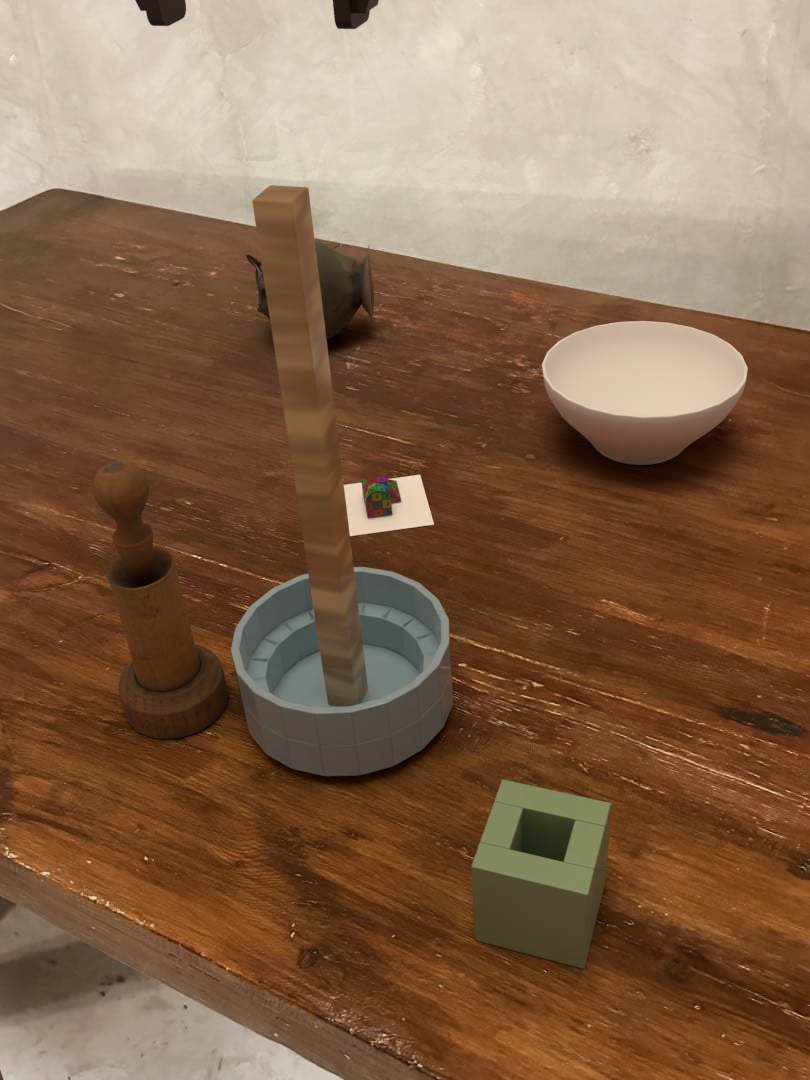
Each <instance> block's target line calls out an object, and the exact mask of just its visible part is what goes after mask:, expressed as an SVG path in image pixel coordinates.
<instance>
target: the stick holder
mask: <svg viewBox="0 0 810 1080" xmlns="http://www.w3.org/2000/svg"><path fill="white" fill-rule="evenodd" d="M611 812H612V803H611V802H608V801H604V800H600V799H599V800H598V799H594V798H590V797H587V796H586V797H585V796H581V795H577V794H571V793H566V792H563V791H559V790H553V789H549V788H544V787H540V786H536V785H535V786H534V785H530V784H526V783H522V782H521V783H520V782H517V781H512V780H507V779H501V782H500V784H499V787H498V790H497V793H496V795H495V798H494V802H493V804H492V806H491V809H490V812H489V816H488V818H487V821H486V823H485V826H484V829H483V833H482V836H481V838H480V841H479V843H478V846H477V848H476V852H475V854H474V858H473V859H472V863H471V866H470V867H471V869H470V870H471V888H472V891H471V892H472V907H473V928H474V929H473V930H474V941H476V942H480V943H484V944H488V945H491V946H496V947H499V948H503V949H506V950H511V951H514V952H519V953H521V954H526V955H530V956H534V957H537V958H541V959H543V960H544V959H545V960H548V961H553V962H556V963H559V964H564V965H567V966H570V967H571V966H572V967H575V968H579V969H582V970H584V969H585V968H586V964H587V960H588V955H589V951H590V947H591V942H592V939H593V935H594V931H595V926H596V922H597V918H598V914H599V910H600V906H601V900H602V898H603V893H604V890H605V884H606V881H607V874H608V857H609V844H610V843H609V842H610V828H611V827H610V826H611Z"/></svg>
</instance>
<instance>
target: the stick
mask: <svg viewBox="0 0 810 1080" xmlns="http://www.w3.org/2000/svg"><path fill="white" fill-rule="evenodd" d="M251 202H252V209H253V215H254V222H255V228H256V236H257V242H258V243H257V244H258V250H259V255H260V256H259V257H260V260H261V263H262V270H263V276H264V283H265V289H266V296H267V303H268V309H269V316H270V320H269V322H270V329H271V336H272V342H273V348H274V355H275V361H276V369H277V375H278V381H279V388H280V395H281V400H282V401H281V403H282V408H283V409H282V410H283V415H284V422H285V428H286V435H287V441H288V448H289V449H288V450H289V454H290V463H291V467H292V474H293V475H292V476H293V481H294V488H295V494H296V501H297V508H298V509H297V510H298V514H299V522H300V528H301V534H302V541H303V547H304V554H305V561H306V567H307V568H306V569H307V574H308V575H309V582H310V588H311V595H312V602H313V608H314V615H315V622H316V628H317V635H318V641H319V648H320V655H321V661H322V668H323V675H324V681H325V688H326V695H327V701H328V704H330V705H335V706H340V707H343V706H353V705H357V704H360V703H361V701H362V699H363V697H364V696H365V694H366V692H367V690H368V684H367V675H366V667H365V658H364V650H363V642H362V633H361V625H360V616H359V608H358V600H357V591H356V583H355V575H354V567H355V566H354V559H353V551H352V550H353V549H352V543H351V536H350V533H349V524H348V516H347V507H346V499H345V491H344V485H345V483H344V475H343V467H342V458H341V457H342V456H341V449H340V442H339V434H338V426H337V416H336V408H335V400H334V399H335V398H334V390H333V383H332V374H331V366H330V357H329V348H328V339H327V340H326V331H325V323H324V315H323V306H322V298H321V289H320V281H319V273H318V264H317V256H316V248H315V239H316V238H315V233H314V224H313V215H312V207H311V198H310V190H309V187H307V186H293V185H292V186H291V185H275V184H271V185H270V184H269V185H268V186H267V187H266V188H265V189H264V190H262V191H261V192H260V193H259V194H258V195H256V196H255V197H254V198H253V199H252V200H251Z"/></svg>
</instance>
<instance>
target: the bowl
mask: <svg viewBox="0 0 810 1080" xmlns="http://www.w3.org/2000/svg"><path fill="white" fill-rule="evenodd" d="M541 370H542V376H543V385H544V389H545V392H546V394H547V396H548V398H549V401H551V403H552V404H553V406H554V407H555V408H556V410H557V412H558V413H559V415H560V416H561V417H562V419H564V421H565V422H566V423H567V424H568V425H569V426H570V427H572V428H574V429H575V430H576V431H577V432H578V433H580V435H582V436H583V437H584V438H585V439H586V440H587V441H588V442H589V443H590V444H591V445H592V446H593V447H594V449H595V450H596V451H597V452H598V453H600V454H601V455H602V456H603V457H605V458H608V459H609V460H612V461H615V462H616V463H617V462H618V463H621V464H626V465H634V466H648V465H649V466H650V465H655V464H661V463H664V462H667V461H670V460H671V459H674V458H675V457H677V456H678V455H680V454H681V453H682V452H683V451H684V450H686V448H687V447H689V445H691V444H692V443H694V442H696V441H697V440H698V439H700V438H701V437H703V436H705V435H706V434H708V433H709V432H711V431H712V430H713V429H714V428H716V427H717V426H718V425H720V424H721V423H722V422H723V421H724V420H725V419H726V418H727V417H728V415H729V414H730V413H731V412H732V411H733V409H734V407H735V406H736V405H737V404H738V402H739V400H740V399H741V397H742V395H743V394H744V390H745V387H746V383H747V377H748V370H749V367H748V366H747V364H746V361H745V359H744V357H743V355H742V354H741V353H740V351H738V350H737V349H736V348H735V347H734V346H733V345H732V344H731V343H729V342H728V341H725V340H724V339H722V338H720V337H719V336H717V335H715V334H713V333H710V332H707V331H704V330H702V329H698V328H695V327H692V326H687V325H681V324H678V323H677V324H676V323H672V322H662V321H651V320H650V321H649V320H648V321H647V320H636V321H635V320H632V321H617V322H611V323H605V324H600V325H599V324H598V325H594V326H591V327H587V328H584V329H581V330H578V331H575V332H573V333H571V334H569V335H567V336H565V337H564V338H562V339H560V340H558V341H557V342H556V343H555V344H554V345H553V346H552V347H551V348H550V349H548V351H547V352H546V354H545V356H544V359H543V361H542V363H541Z"/></svg>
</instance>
